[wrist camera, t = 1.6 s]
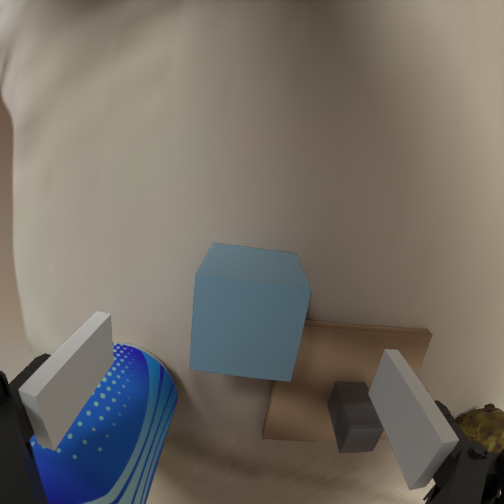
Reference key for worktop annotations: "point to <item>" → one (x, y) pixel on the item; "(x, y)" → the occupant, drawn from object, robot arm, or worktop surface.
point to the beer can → (113, 435)
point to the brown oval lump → (485, 427)
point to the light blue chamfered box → (248, 312)
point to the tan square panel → (338, 384)
